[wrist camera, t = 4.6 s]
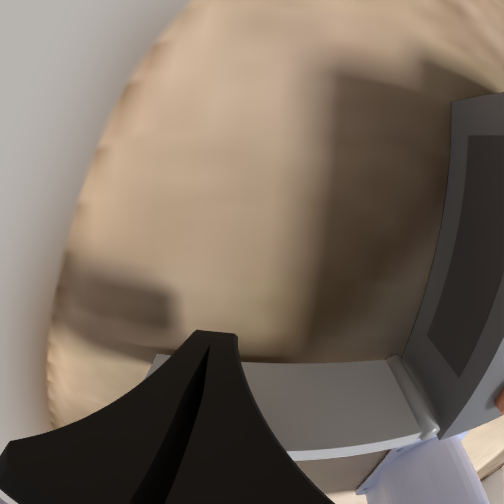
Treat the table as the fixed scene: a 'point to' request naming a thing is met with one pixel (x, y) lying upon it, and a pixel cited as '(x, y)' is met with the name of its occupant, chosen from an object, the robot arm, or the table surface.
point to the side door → (338, 406)
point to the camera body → (466, 279)
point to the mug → (495, 486)
